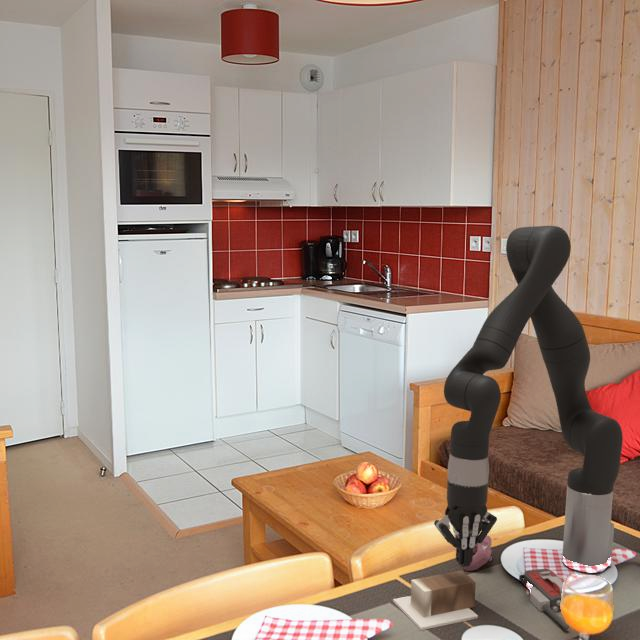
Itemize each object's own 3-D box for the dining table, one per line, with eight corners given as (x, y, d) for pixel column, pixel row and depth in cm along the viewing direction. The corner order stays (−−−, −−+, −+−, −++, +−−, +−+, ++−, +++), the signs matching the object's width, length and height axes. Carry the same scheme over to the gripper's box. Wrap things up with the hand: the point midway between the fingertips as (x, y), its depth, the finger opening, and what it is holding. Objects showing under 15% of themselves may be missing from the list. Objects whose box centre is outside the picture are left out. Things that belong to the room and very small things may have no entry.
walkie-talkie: (509, 583, 161) (561, 635, 142) (510, 563, 161) (563, 612, 141) (547, 579, 163) (604, 630, 144) (549, 559, 163) (606, 607, 144)
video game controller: (480, 580, 165) (497, 553, 163) (460, 569, 165) (477, 542, 164) (480, 559, 174) (496, 534, 173) (461, 549, 175) (477, 523, 173)
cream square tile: (446, 591, 157) (446, 588, 157) (477, 618, 147) (477, 615, 147) (392, 601, 152) (392, 599, 152) (420, 630, 142) (421, 627, 142)
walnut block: (461, 570, 154) (411, 579, 150) (475, 582, 149) (424, 591, 145) (460, 594, 155) (410, 604, 150) (474, 606, 150) (423, 617, 146)
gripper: (486, 467, 154) (482, 551, 157) (426, 475, 149) (423, 562, 152) (509, 480, 147) (504, 568, 150) (447, 488, 142) (443, 579, 145)
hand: (463, 564), depth 151 cm, fingers closed
